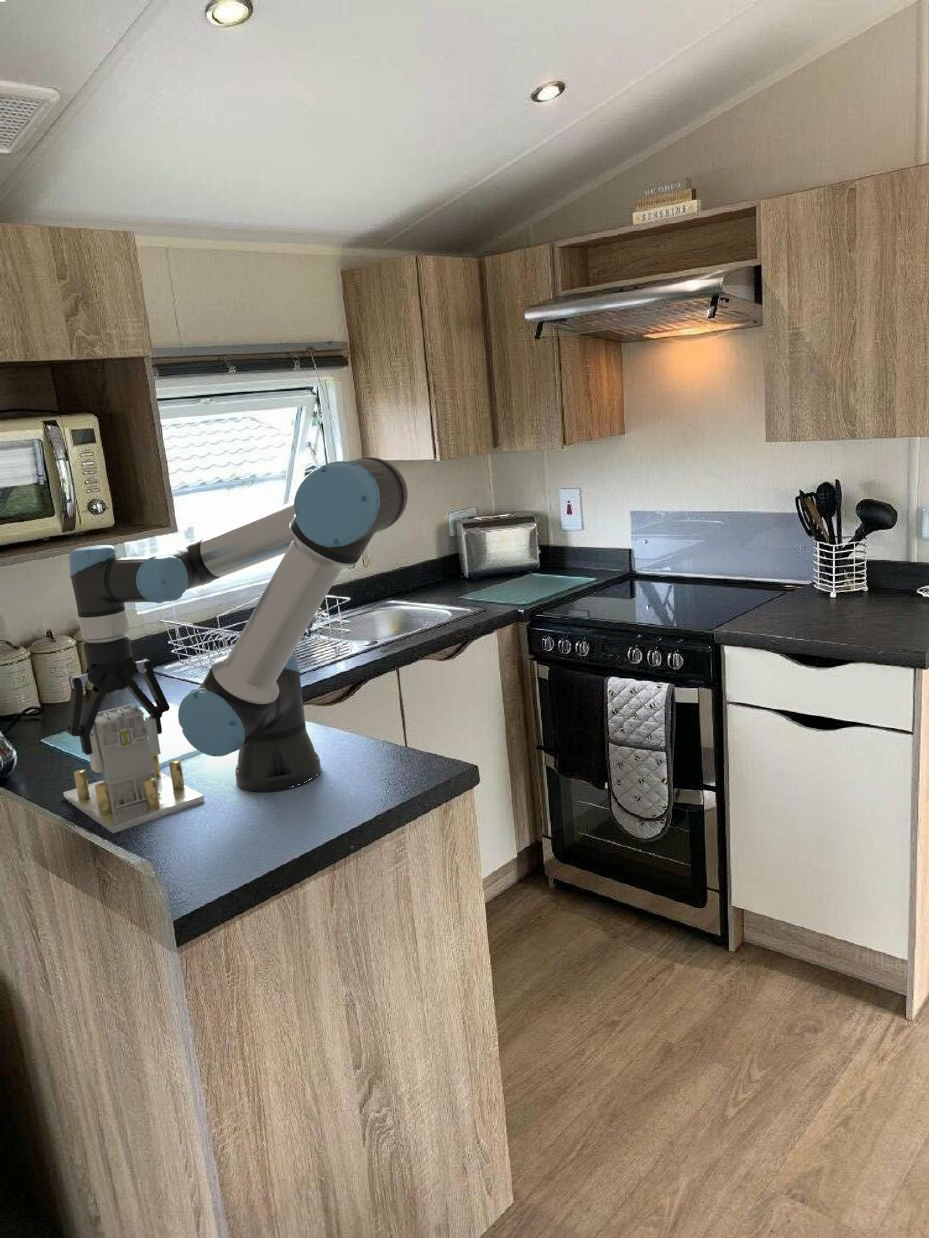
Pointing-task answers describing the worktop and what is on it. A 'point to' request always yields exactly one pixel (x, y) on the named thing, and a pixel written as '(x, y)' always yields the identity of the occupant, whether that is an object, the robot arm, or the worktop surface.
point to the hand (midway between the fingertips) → (126, 761)
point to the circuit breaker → (124, 753)
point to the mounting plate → (104, 812)
